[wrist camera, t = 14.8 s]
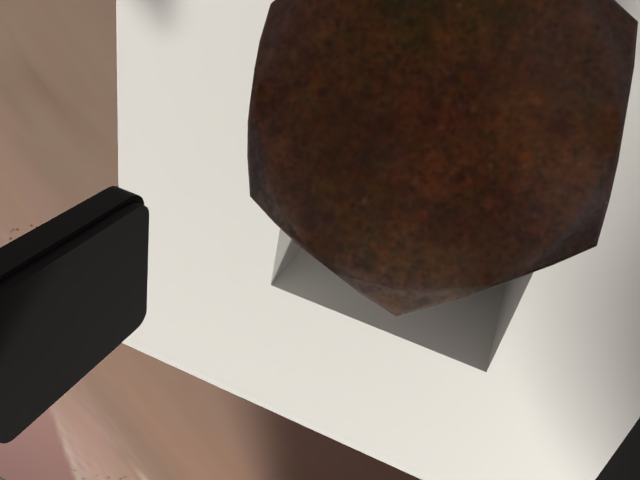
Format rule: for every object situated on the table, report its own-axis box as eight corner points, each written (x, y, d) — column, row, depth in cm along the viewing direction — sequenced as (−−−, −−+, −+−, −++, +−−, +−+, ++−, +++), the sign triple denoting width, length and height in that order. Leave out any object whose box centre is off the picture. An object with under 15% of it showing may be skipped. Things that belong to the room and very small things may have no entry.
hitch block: (904, -116, 15) (1190, -131, 8) (600, 371, 25) (604, 563, 18) (294, -230, 19) (112, -310, 12) (238, 231, 29) (120, 342, 22)
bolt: (413, 76, 23) (270, -112, 8) (552, 87, 21) (671, -117, 7) (392, 226, 23) (228, 291, 9) (526, 246, 22) (582, 359, 8)
